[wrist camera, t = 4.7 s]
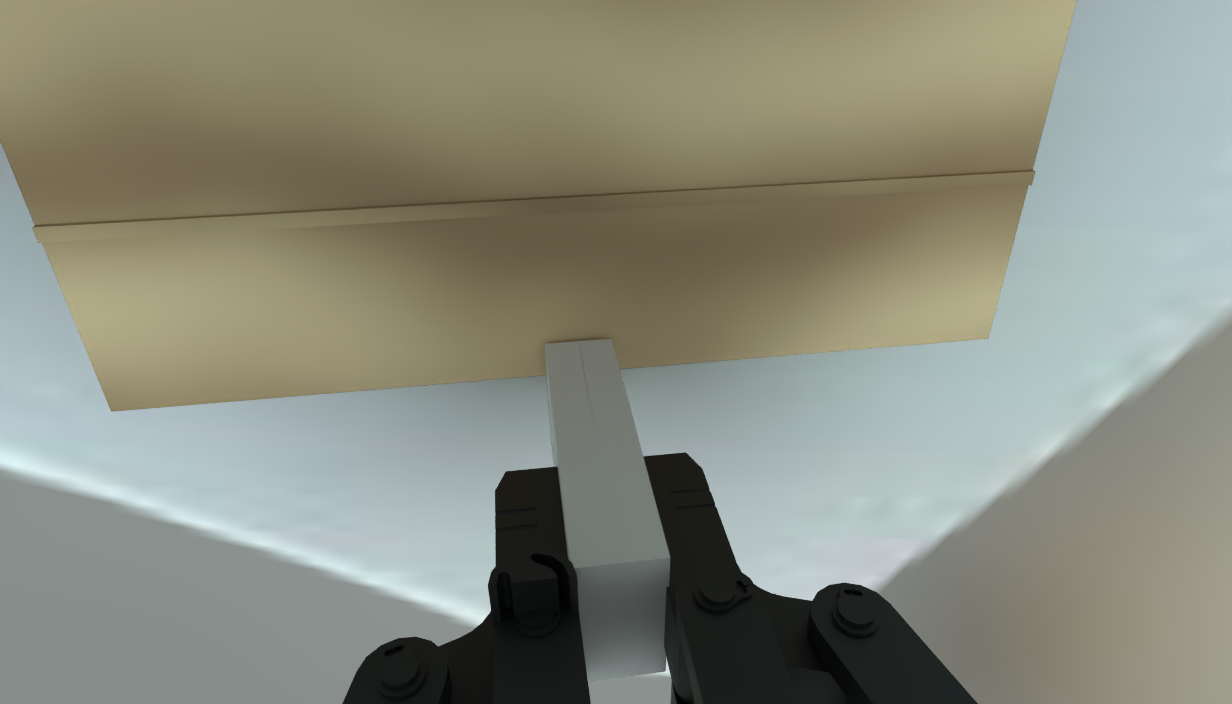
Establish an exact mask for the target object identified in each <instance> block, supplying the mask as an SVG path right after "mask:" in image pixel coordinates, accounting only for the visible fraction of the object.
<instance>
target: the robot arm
mask: <svg viewBox="0 0 1232 704" xmlns="http://www.w3.org/2000/svg"><path fill="white" fill-rule="evenodd" d="M545 358H546V373H547V388H548V403H549V419H550V434H551V446H552V455H553V464H554V467H548V468H538V469H528V470H517V471H507V472H505V474H504V476H503V478H502V480H501V481H500V483H499V485H498V487H497V489H496V490H495V513H496V516H495V528H496V567H495V568H494V569H493V571H492V572H491V575H490V579H489V583H488V590H489V597H490V604H491V612H490V614H489V615H488V616H487V617H486V619H485V620H484V621H483V622H482V623H481V624H480V625H479V626H478V627H476V628H475V629H474V630H473V631H471V632H470V633H468V634H466V635H464V636H462V637H460V638H458V639H456V640H453V641H451V642H448V643H446V644H444V645H441V646H439V647H438V646H437V645H435V644H434V643H433V642H432V641H429V640H426V639H422V638H418V637H408V638H398V639H396V640H393V641H391V642H388V643H386V644H384V645H381V646H380V647H378V648H377V649H376V650H375V651H374V652H372V653H371V654H370V655H368V656H367V657H366V658H365V660H364V661H363V663H362V664H361V666H360V668H359V669H358V670H357V672H356V674H355V677H354V679H353V681H352V683H351V686H350V688H349V690H348V693H347V695H346V697H345V699H344V702H343V704H591V703H590V695H589V687H588V681H594V680H602V679H610V678H617V677H625V676H633V675H641V674H648V673H656V672H663V671H665V670H666V657H667V661H668V666H669V670H670V674H671V679H672V687H671V704H977V702H976V701H975V700H974V699H973V698H972V697H971V696H970V695H969V693H968V692H967V691H966V690H965V689H964V688H963V686H962V685H961V684H960V683H959V682H958V681H957V680H956V678H955V677H954V676H953V675H952V674H951V673H950V672H949V670H948V669H947V668H946V667H945V666H944V665H943V664H942V662H941V661H940V660H939V659H938V658H937V657H936V656H935V654H933V652H932V651H931V650H930V649H929V648H928V646H927V645H926V644H925V643H924V642H923V641H922V640H921V639H920V637H919V636H918V635H917V634H916V633H915V632H914V631H913V629H912V628H911V627H910V626H909V625H908V624H907V623H906V622H905V620H904V619H903V618H902V617H901V616H900V615H899V613H898V612H897V611H896V610H895V609H894V608H893V606H891V604H890V603H889V602H888V601H886V600H885V599H884V598H882V597H881V596H880V595H879V594H878V593H877V592H875V591H872V590H870V589H868V588H866V587H863V586H861V585H856V584H849V583H840V584H833V585H829V586H827V587H825V588H824V589H822V590H820V591H819V592H817V594H816V596H815V598H814V599H813V601H809V600H802V599H796V598H790V597H784V596H780V595H776V594H772V593H769V592H767V591H765V590H763V589H761V588H759V587H757V586H756V585H755V584H753V582H752V580H751V579H750V578H749V577H747V576H746V575H745V574H743V573H742V572H741V570H740V568H739V567H738V565H737V563H736V560H735V557H734V554H733V552H732V549H731V546H730V543H729V541H728V538H727V535H726V533H725V530H724V527H723V524H722V522H721V519H720V516H719V513H718V511H717V508H716V507H715V502H714V500H713V497H712V494H711V492H710V491H709V486H708V483H707V481H706V478H705V475H704V472H703V470H702V468H701V467H700V466H699V465H698V464H697V463H696V462H695V461H694V460H693V459H692V458H691V457H690V456H689V455H688V454H687V453H676V454H665V455H655V456H645V457H643V454H642V450H641V447H640V443H639V439H638V435H637V432H636V428H635V424H634V421H633V417H632V413H631V409H630V406H629V402H628V398H627V395H626V391H625V387H624V383H623V380H622V376H621V372H620V369H619V365H618V361H617V357H616V354H615V350H614V346H613V343H612V339H600V340H587V341H575V342H562V343H549V344H545Z"/></svg>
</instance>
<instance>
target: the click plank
mask: <svg viewBox="0 0 1232 704" xmlns="http://www.w3.org/2000/svg"><path fill="white" fill-rule="evenodd" d="M1076 2H1077V0H0V142H1V144H2V146H3V149H4V151H5V154H6V156H7V159H8V161H9V163H10V166H11V168H12V171H13V173H14V176H15V178H16V181H17V183H18V185H19V188H20V190H21V193H22V195H23V198H24V200H25V202H26V205H27V207H28V210H29V212H30V215H31V217H32V220H33V222H34V224H35V226H34V227H32V228H33V231H34V233H35V236H36V238H37V240H38V243H42V244H43V246H44V249H45V251H46V254H47V256H48V259H49V261H50V263H51V266H52V268H53V271H54V273H55V276H56V278H57V281H58V283H59V285H60V288H61V290H62V293H63V295H64V298H65V300H66V302H67V305H68V307H69V310H70V312H71V315H72V317H73V320H74V322H75V324H76V327H77V329H78V332H79V334H80V337H81V339H82V341H83V344H84V346H85V349H86V351H87V354H88V356H89V359H90V361H91V363H92V366H93V368H94V371H95V373H96V376H97V378H98V381H99V383H100V385H101V388H102V390H103V393H104V395H105V398H106V400H107V402H108V405H109V407H110V410H111V411H123V410H135V409H147V408H159V407H171V406H183V405H195V404H207V403H219V402H231V401H244V400H256V399H268V398H280V397H292V396H304V395H316V394H328V393H340V392H352V391H364V390H376V389H388V388H400V387H412V386H424V385H436V384H448V383H460V382H472V381H484V380H496V379H508V378H520V377H532V376H544V375H547V373H546V358H545V344H549V343H562V342H575V341H587V340H600V339H612V343H613V346H614V350H615V354H616V357H617V361H618V365H619V369H629V368H641V367H653V366H665V365H677V364H689V363H701V362H713V361H725V360H737V359H749V358H761V357H773V356H785V355H797V354H809V353H821V352H833V351H845V350H857V349H869V348H882V347H894V346H906V345H918V344H930V343H942V342H954V341H966V340H978V339H988V338H989V334H990V330H991V326H992V322H993V318H994V315H995V311H996V307H997V303H998V299H999V296H1000V292H1001V288H1002V284H1003V280H1004V277H1005V273H1006V269H1007V265H1008V261H1009V257H1010V254H1011V250H1012V246H1013V242H1014V238H1015V235H1016V231H1017V227H1018V223H1019V219H1020V215H1021V212H1022V208H1023V204H1024V200H1025V196H1026V193H1027V189H1028V185H1032V182H1033V178H1034V174H1035V171H1033V166H1034V162H1035V158H1036V154H1037V151H1038V147H1039V143H1040V139H1041V135H1042V132H1043V128H1044V124H1045V120H1046V116H1047V112H1048V109H1049V105H1050V101H1051V97H1052V93H1053V90H1054V86H1055V82H1056V78H1057V74H1058V71H1059V67H1060V63H1061V59H1062V55H1063V51H1064V48H1065V44H1066V40H1067V36H1068V32H1069V29H1070V25H1071V21H1072V17H1073V13H1074V9H1075V6H1076Z"/></svg>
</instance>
